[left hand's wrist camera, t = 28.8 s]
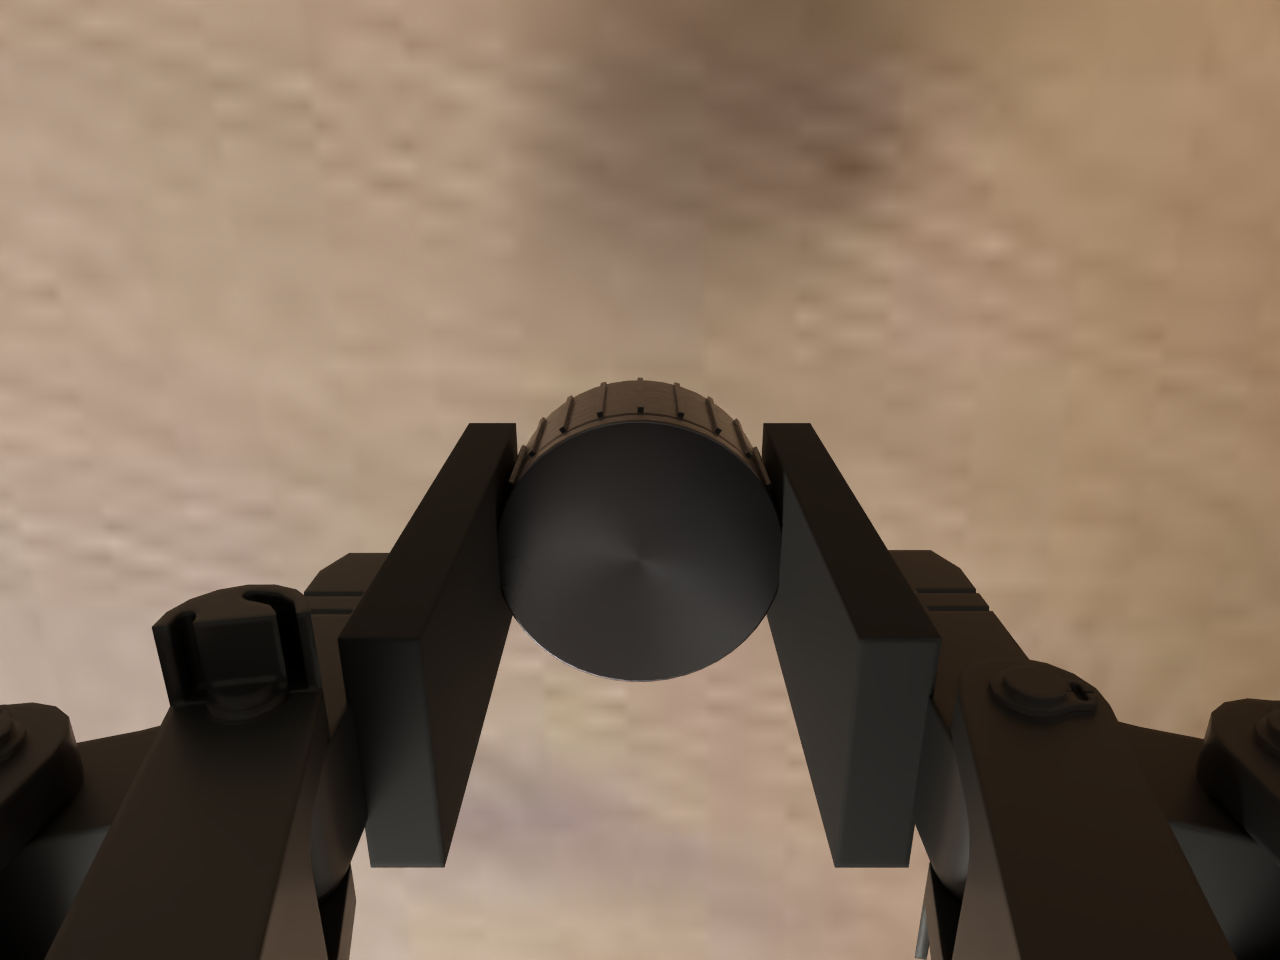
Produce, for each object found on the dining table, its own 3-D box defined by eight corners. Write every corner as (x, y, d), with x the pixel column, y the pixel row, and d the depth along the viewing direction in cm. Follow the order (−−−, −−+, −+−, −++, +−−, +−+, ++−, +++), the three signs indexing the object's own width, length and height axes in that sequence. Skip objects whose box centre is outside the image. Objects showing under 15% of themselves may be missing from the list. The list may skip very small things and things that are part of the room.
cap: (700, 328, 13) (710, 362, 11) (807, 550, 15) (835, 616, 13) (463, 447, 14) (433, 498, 12) (587, 648, 15) (580, 726, 13)
